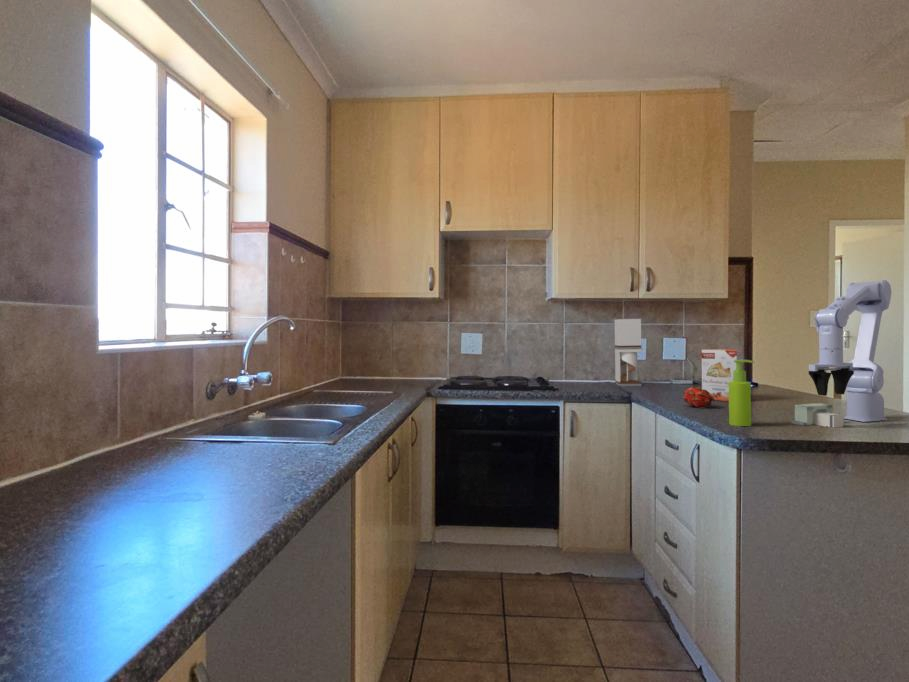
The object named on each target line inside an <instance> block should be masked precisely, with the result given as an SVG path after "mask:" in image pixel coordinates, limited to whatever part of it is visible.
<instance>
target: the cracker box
mask: <svg viewBox="0 0 909 682" xmlns="http://www.w3.org/2000/svg"><path fill="white" fill-rule="evenodd" d="M743 358H744V357H743V350H742V349H728V348H727V349H725V348H722V349H721V348H714V349H713V348H706V349H705V348H704V349H701V388H702V390H707V391H708V392H709V393H710V394H711V395H712V396H713V397H714V401H720V402H721V401H723V402H729V382H731V381H733V371H735V370H736V362H734V360H744V359H743Z"/></svg>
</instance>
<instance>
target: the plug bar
mask: <svg viewBox="0 0 909 682" xmlns="http://www.w3.org/2000/svg"><path fill="white" fill-rule="evenodd" d="M843 416H844V414H841V413H839V414H838V413H833V412H832V413H826V412H820V411H814V410H813V425H817V426H821V427H826V426H828V428H832V427H837V428H843V427H842V426H845V425H844V418H843Z"/></svg>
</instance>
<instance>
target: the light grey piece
mask: <svg viewBox="0 0 909 682" xmlns="http://www.w3.org/2000/svg"><path fill="white" fill-rule="evenodd" d="M613 322H614V368H615V369H614V371H615V372H614V377H615V378H614V379H615V380H614V381H615V382H614V383H616V384H617V386H618V385H619V387H642V386H643V381H642V380H641V381H640V380H639V379H638V353H642V319H641V318H621V319H619V318H617V319H614V320H613ZM616 384H615V385H616Z"/></svg>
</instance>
